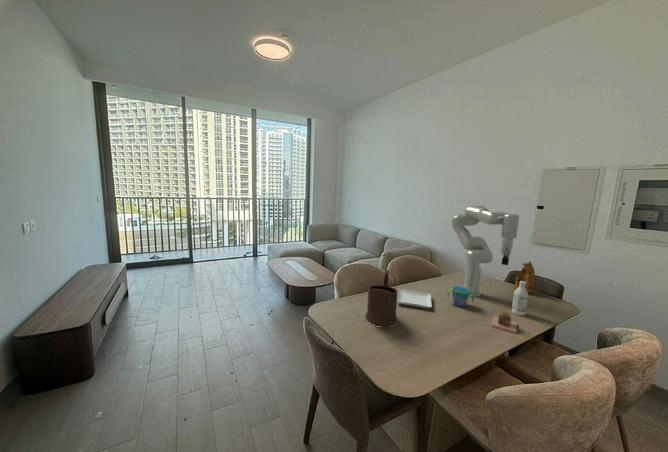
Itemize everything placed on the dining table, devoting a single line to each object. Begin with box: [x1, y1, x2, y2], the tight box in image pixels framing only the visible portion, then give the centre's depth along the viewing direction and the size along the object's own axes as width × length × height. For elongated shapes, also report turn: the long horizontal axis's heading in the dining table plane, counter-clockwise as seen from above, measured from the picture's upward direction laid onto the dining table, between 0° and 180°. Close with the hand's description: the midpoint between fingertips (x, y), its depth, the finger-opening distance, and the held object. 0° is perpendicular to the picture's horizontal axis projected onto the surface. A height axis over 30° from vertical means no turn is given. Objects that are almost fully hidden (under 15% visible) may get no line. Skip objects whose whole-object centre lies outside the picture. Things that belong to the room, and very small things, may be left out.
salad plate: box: [397, 288, 433, 309], centre depth 169 cm, size 21×21×3 cm
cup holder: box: [364, 269, 398, 328], centre depth 146 cm, size 18×24×25 cm
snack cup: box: [446, 285, 475, 308], centre depth 166 cm, size 16×10×10 cm
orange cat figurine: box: [514, 261, 536, 294], centre depth 190 cm, size 10×12×22 cm
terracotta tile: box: [491, 316, 517, 334], centre depth 142 cm, size 11×11×1 cm
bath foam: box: [511, 281, 529, 316], centre depth 156 cm, size 7×7×20 cm
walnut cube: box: [498, 310, 513, 327], centre depth 142 cm, size 6×6×6 cm
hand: (505, 262), depth 156 cm, fingers open, 9 cm apart
